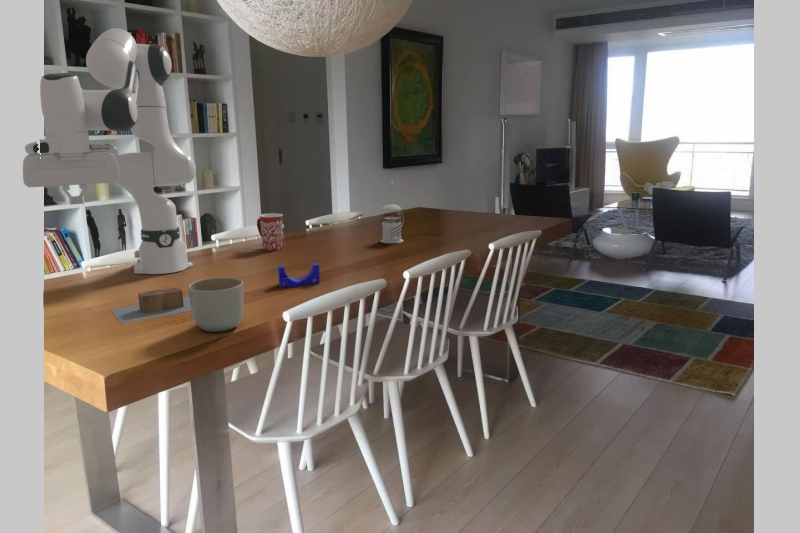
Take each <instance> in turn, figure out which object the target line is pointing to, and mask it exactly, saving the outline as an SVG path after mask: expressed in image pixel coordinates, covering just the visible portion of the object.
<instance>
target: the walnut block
mask: <svg viewBox="0 0 800 533" xmlns="http://www.w3.org/2000/svg"><path fill="white" fill-rule="evenodd" d="M137 296H138V297H137V298H138V305H139V306H140V310H141V311H142V312H143V314H145V313H151V312H157V311H162V310H168V309H174V308H180V307H184V305H183V297H184V296H183V290H182V289H181V288H179V287H178V286H174V287H168V288H167V287H166V288H162V289H155V290H154V289H153V290H149V291H143V292H138V293H137Z"/></svg>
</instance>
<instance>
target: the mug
mask: <svg viewBox="0 0 800 533" xmlns="http://www.w3.org/2000/svg"><path fill="white" fill-rule="evenodd" d="M283 217H284V215H283V214H282V213H276V212H275V213H274V212H273V213H262V214H259V216H258V218H257V219H256V227H257V230H258V233H259V236H260V238H261V240H262V249H263V250H264V251H266V252H267V251H269V252H274V251H276V252H277V251H280V250H282V249H283Z"/></svg>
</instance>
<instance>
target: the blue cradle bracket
mask: <svg viewBox="0 0 800 533" xmlns="http://www.w3.org/2000/svg"><path fill="white" fill-rule="evenodd" d="M277 271H278V286H279V285H280V286H279V288H280V287H281V288H280V289H285V287H288V288H297V286H300V287H301V286H306V285H307V284H308V285H317V284H320V283H321V279H320V264H319V263H318V262H314V263H313V262H312V266H311V269H310V271H309V272H308V274H307V275H305V276H304V277H301V278H294V277H291V276H290V275H288V274H287V273H286V270H285V267H284V265H278V266H277ZM305 284H306V285H305ZM284 285H285V286H284Z"/></svg>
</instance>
